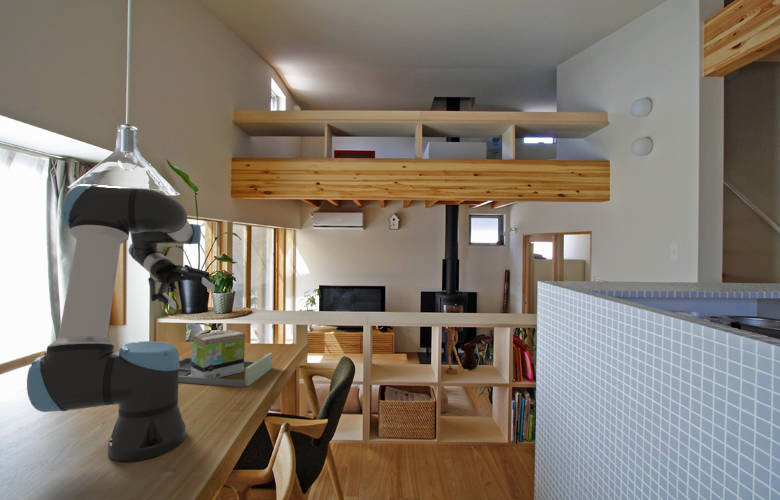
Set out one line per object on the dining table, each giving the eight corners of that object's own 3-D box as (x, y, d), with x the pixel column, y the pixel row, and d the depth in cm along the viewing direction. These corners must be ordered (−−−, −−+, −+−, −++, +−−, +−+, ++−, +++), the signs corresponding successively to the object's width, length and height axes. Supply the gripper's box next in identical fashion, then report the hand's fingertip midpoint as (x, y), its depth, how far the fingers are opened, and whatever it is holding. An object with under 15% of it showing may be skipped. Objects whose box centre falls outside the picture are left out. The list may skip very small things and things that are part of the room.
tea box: (203, 383, 121) (204, 340, 121) (190, 376, 127) (191, 335, 127) (244, 371, 133) (245, 332, 133) (230, 366, 139) (231, 328, 139)
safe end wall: (248, 386, 120) (248, 368, 120) (244, 385, 120) (245, 368, 120) (271, 368, 137) (272, 353, 137) (268, 368, 138) (269, 352, 138)
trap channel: (243, 387, 119) (243, 381, 119) (146, 380, 122) (146, 374, 122) (269, 367, 139) (270, 362, 139) (186, 362, 142) (186, 357, 142)
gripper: (194, 263, 141) (227, 290, 133) (123, 289, 122) (158, 322, 114) (193, 248, 137) (228, 274, 129) (120, 271, 118) (155, 305, 110)
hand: (195, 297), depth 122 cm, fingers open, 13 cm apart
